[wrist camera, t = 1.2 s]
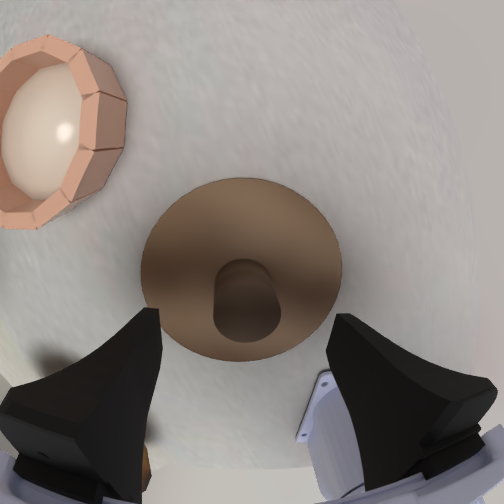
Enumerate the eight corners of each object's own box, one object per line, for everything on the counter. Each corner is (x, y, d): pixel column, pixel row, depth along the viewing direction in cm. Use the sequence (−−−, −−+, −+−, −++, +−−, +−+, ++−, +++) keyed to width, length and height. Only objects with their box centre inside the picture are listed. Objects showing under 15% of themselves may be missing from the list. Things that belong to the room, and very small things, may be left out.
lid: (315, 350, 19) (332, 392, 15) (152, 346, 18) (140, 390, 14) (351, 188, 15) (387, 204, 11) (143, 172, 14) (116, 183, 10)
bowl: (123, 211, 14) (96, 232, 11) (3, 211, 13) (-31, 227, 10) (136, 42, 11) (113, 19, 7) (9, 71, 10) (-26, 65, 6)
